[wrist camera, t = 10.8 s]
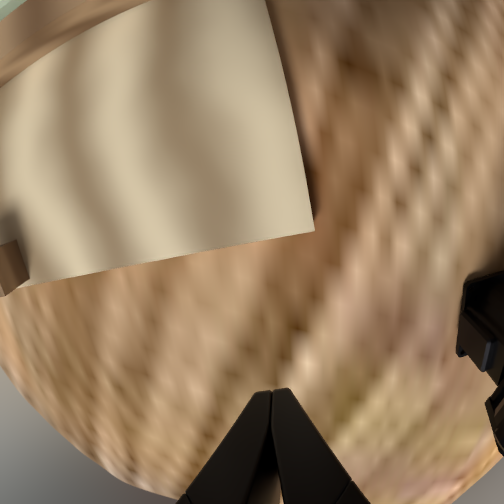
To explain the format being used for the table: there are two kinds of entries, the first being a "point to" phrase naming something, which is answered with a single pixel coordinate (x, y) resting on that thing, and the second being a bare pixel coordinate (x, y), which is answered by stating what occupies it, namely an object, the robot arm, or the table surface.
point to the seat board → (148, 143)
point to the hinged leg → (49, 28)
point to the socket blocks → (9, 7)
